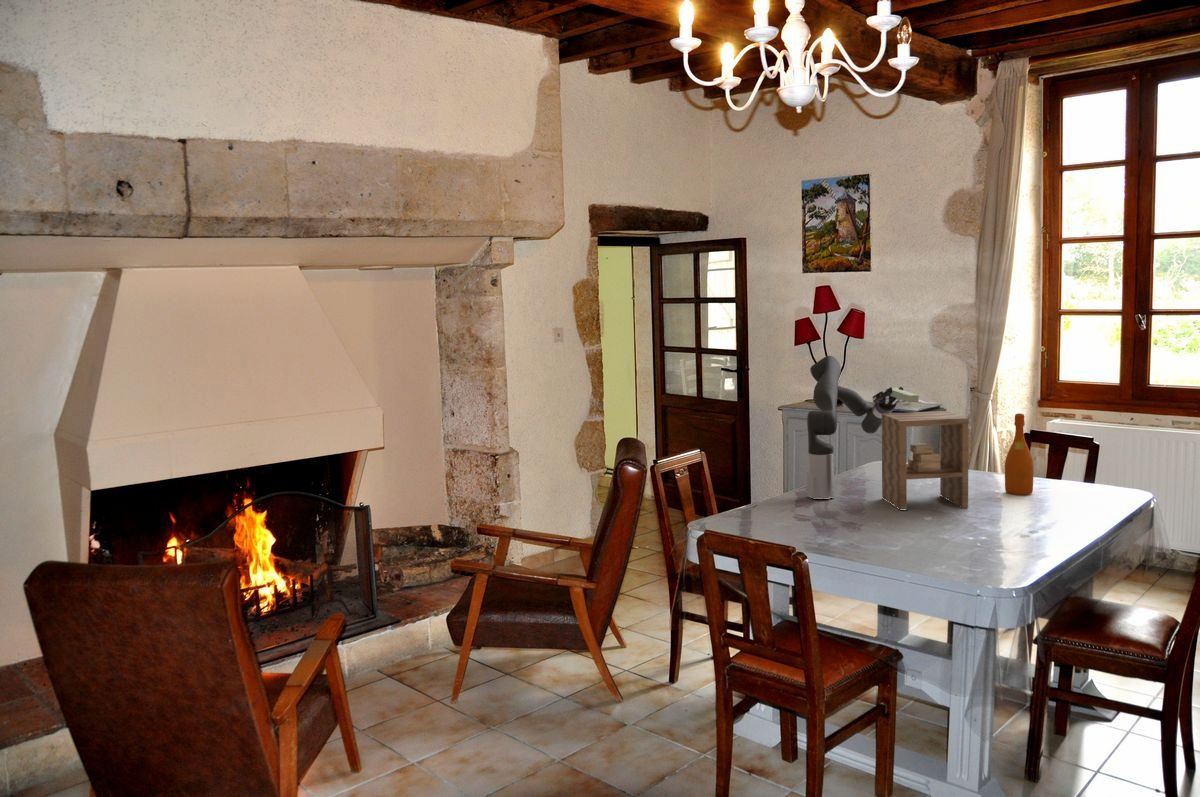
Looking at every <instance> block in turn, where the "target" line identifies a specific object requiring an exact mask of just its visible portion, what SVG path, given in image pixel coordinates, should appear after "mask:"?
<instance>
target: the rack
mask: <svg viewBox="0 0 1200 797" xmlns="http://www.w3.org/2000/svg"><path fill="white" fill-rule="evenodd" d="M969 420H970V419H969V417H966V416H963V415H960V414H956V413H953V412H950V411H947V410H945V411H944V410H943V411H942V410H939V411H938V410H937V411H919V412H918V411H917V412H916V411H915V412H896V413H894V412H893V413H892V412H891V413H890V414H882V424H881V495H882V496H881V497H883V498H884V499H886V500H887V501H889V502H891V503H892V504H894V505H895V506H896V507H898V508H899V509H907V508H908V506H907V505H908V502H907V501H908V500H907V498H908V497H907V496H908V495H907V490H908V488H907V484H908V483H907V480H922V479H927V480H928V479H940V482H939V483H940V486H939V489H940V490H939V491H940V492H939V493H940V495H942V496H943V497H945V498H947V499H949V500H950V501H952V502H954V503H955V504H954V503H953V504H954V505H956V504H957V505H956V506H958V505H959V506H961V507H962V508H961V507H960V508H961V509H967V508H966V507H968V508H969V423H970V422H969ZM929 426H930V427H931V426H940V430H939V431H940V434H939V435H940V436H939V437H940V439H939V440H940V443H939V444H940V445H939V446H940V447H939V448H940V452H939V453H938V452H936V451H934V446H933V445H932V444H929V443H926V442H925V443H910V445H909V447H910V448H909V450H910V452H911V453H912V458H911V457H910V458H908V459H907V427H929ZM943 497H942V498H943ZM945 498H944V499H945ZM947 499H946V500H947ZM950 501H949V502H950ZM952 502H951V503H952ZM959 506H958V507H959ZM907 510H908V509H907Z"/></svg>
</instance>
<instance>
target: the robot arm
mask: <svg viewBox="0 0 1200 797" xmlns="http://www.w3.org/2000/svg"><path fill="white" fill-rule="evenodd" d="M809 369H810V370H809V371H810V374H811V376H812V377H813V379H814V380H815V381H816V384H815V385H814V388H813V395H812V396H813V397H812V399H813V402H814V403H813V404H815V406H816V407H817V408H818V409H819V410H810V411H809V412H808V413H807V416H806V423H807V439H808V441H807V442H808V443H807V444H808V450H807V452H808V456H807V457H808V471H807V472H806V496H807V495H809V496H811V497H813V498H817V497H818V498H829V497H833V496H834V497H835V486H834V485H835V484H834V483H835V482H834V481H835V479H834V478H835V475H834V470H835V469H834V468H835V467H834V446H833V445H832V444H830V443H827V442H825V441H823V440H821V439H820V438H818V436H831V435H835V433H836V432H837V428H838V417H837V416H838V415H837V414H838V412H837V407H838V406H837V404H838V403H837V402H838V400H839V401H841V402H842V403H843V404H844V406H846V407H847V408H848V409H849V411H850V412H852V414H854V416H856V417H863V416H864V415H866V416H865V417H864V418H863V420H862V421H861V429H862V431H864V432H865V433H867V434H869V435H870V434H875V433H877V431H878V430H879V428H880V427H881V426H882V414H890V413H892V412H893V411H894V409H895V408H896V407H897V403H899V402H900V401H902V402H904V403H905V402H906V401H904V400H901V399H898V398H895V397H892V396H890V395H891V393H892V388H893V387H892V386H891V387H890V386H889V387H888V388H889V389H887V391H886V390H885V391H879V392H878V393H876V394H875V395H873V396H872V402H873V403H874V404H873V405H871V404H870V403H868V402H867V401H866V400H865V399H864V398H863V397H862V396H861V395H860V394H859V393H858V392H857V391H855V390H853V389H850V388H846V387H843V386H841V385H839V380H840V378H841V377H840V376H841V370H842V369H841V365H840V362H839V361H838V359H837V358H836V357H835V356H833V355H827V356H825V357H823V358H821V359H819V360H818V361H817V362H815V363H814V364H813V365H811V367H810V368H809ZM898 389H900V390H904V387H903V386H899V388H898Z"/></svg>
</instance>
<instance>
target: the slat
mask: <svg viewBox="0 0 1200 797" xmlns="http://www.w3.org/2000/svg"><path fill="white" fill-rule="evenodd" d="M889 388H890V387H886V388H885V391H887V389H889ZM890 396H892V397H895V398H898V399H901V400H900V401H902V400H904V401H905V402H907V403H919V394H916V393H913V392H910V391H907V390H904V389H903V390H900V389H899V388H897V387H892V393H891V395H890ZM904 401H903V402H904Z"/></svg>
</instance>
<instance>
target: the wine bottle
mask: <svg viewBox="0 0 1200 797" xmlns="http://www.w3.org/2000/svg"><path fill="white" fill-rule="evenodd" d="M1013 425H1014V426H1015V432H1014V437H1013V438H1014V439H1013V441H1012V443H1011V445H1010V448H1009V449H1008V452H1007V454H1006V457H1005V462H1004V490H1005V492H1006V493H1007V494H1009V495H1013V496H1014V495H1015V496H1027V495H1031V494H1032V493H1033V492H1034V491H1033V490H1034V472H1035V471H1034V470H1035V469H1034V460H1033V456H1032V453H1031V450H1030V449H1029V446H1028V444H1027V442H1026V439H1025V434H1024V432H1025V431H1024V427H1025V414H1024V413H1021V412H1019V413H1015V415H1014V423H1013Z"/></svg>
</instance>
